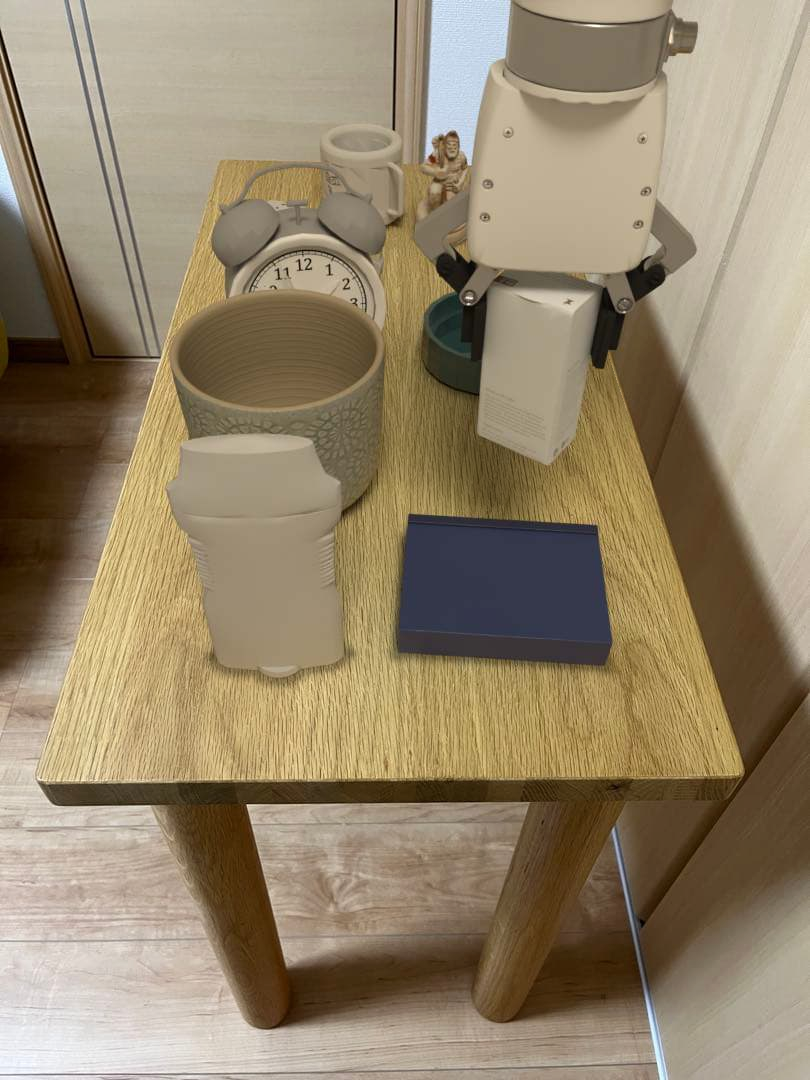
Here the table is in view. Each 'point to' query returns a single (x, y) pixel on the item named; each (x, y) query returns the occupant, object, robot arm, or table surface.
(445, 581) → the book
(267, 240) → the alarm clock
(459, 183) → the figurine
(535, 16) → the robot arm
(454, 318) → the bowl
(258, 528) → the deodorant stick
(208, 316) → the planter
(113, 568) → the table surface
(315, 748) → the table surface
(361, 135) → the mug
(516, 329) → the cosmetic box
